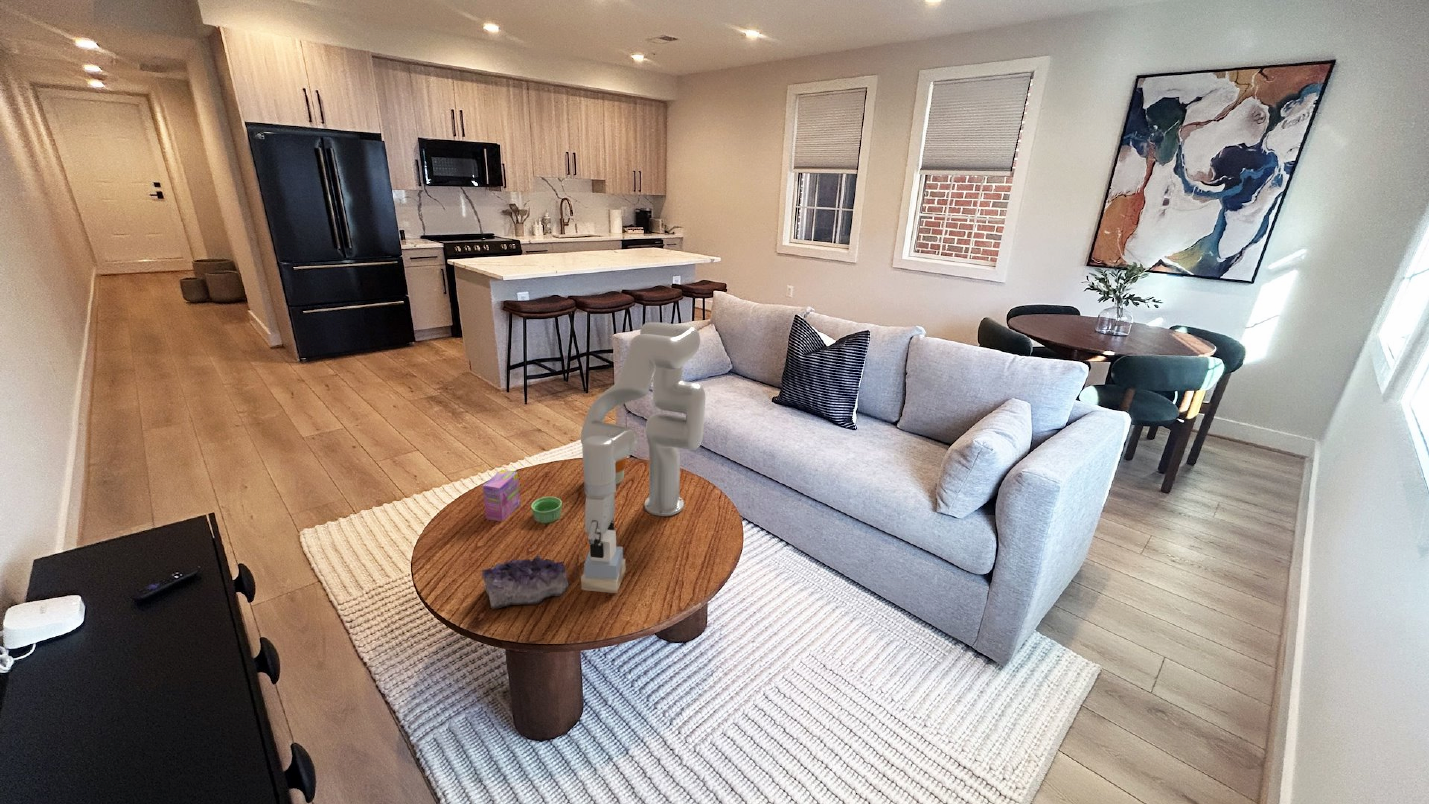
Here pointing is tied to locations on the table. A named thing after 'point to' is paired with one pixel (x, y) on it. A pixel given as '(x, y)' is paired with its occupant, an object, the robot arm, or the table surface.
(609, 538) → the white block
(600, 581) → the tower base
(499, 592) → the geode
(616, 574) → the tower top
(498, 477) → the box
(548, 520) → the ramekin
